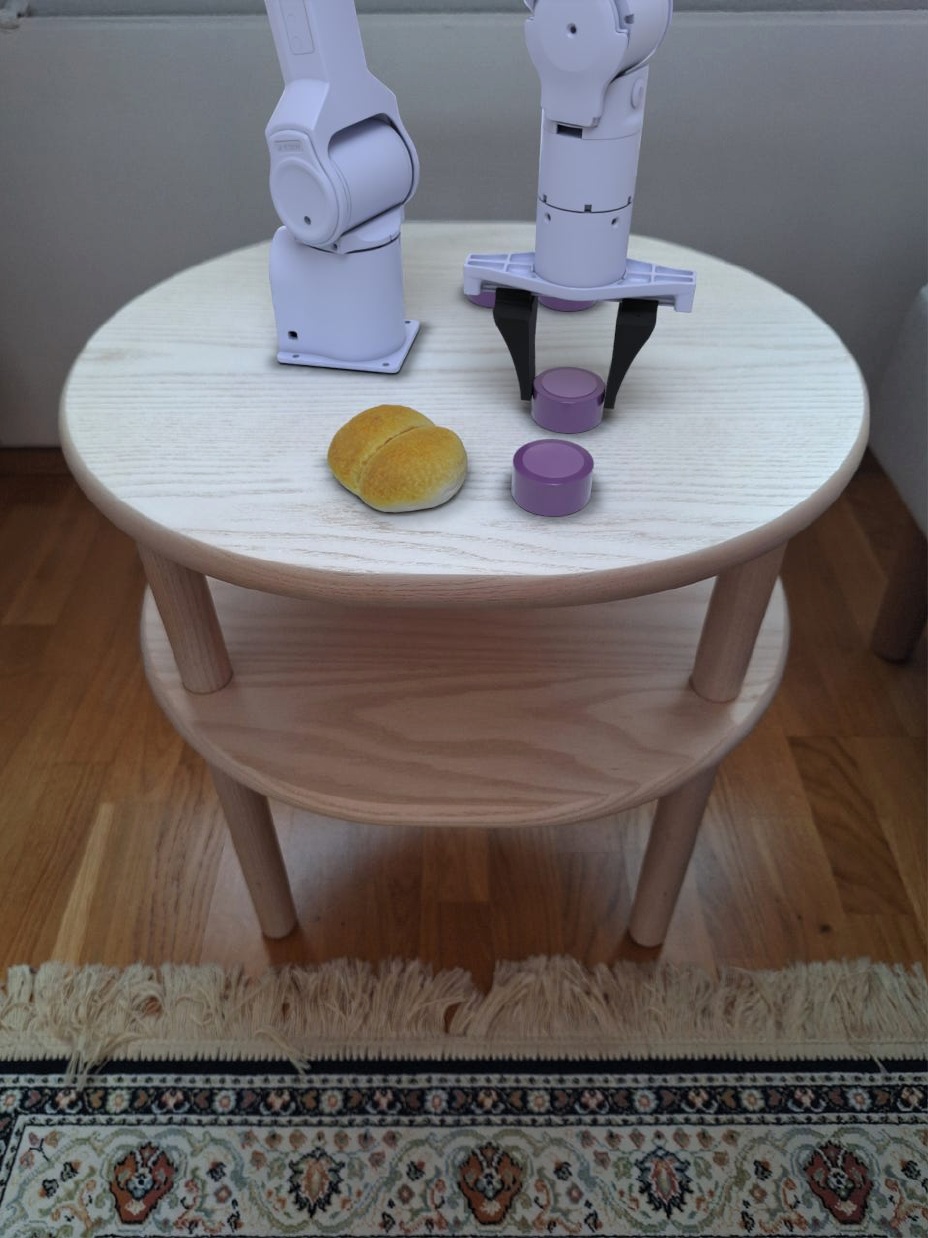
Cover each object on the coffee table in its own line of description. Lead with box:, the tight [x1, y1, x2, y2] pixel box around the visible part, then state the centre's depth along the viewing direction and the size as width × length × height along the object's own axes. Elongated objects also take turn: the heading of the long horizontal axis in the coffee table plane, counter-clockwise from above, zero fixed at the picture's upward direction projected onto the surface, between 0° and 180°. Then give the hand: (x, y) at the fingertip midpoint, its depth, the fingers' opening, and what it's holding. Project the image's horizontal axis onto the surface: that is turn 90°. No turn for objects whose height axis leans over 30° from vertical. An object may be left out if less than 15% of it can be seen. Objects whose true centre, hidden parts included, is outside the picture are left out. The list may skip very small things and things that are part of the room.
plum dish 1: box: [538, 296, 597, 312], centre depth 79 cm, size 5×5×2 cm
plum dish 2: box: [530, 365, 607, 434], centre depth 66 cm, size 5×5×2 cm
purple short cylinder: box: [466, 291, 496, 309], centre depth 80 cm, size 5×5×2 cm
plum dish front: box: [510, 438, 595, 517], centre depth 59 cm, size 5×5×2 cm
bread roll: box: [326, 404, 469, 513], centre depth 60 cm, size 8×9×4 cm
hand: (568, 397), depth 66 cm, fingers closed on plum dish 2, 5 cm apart
